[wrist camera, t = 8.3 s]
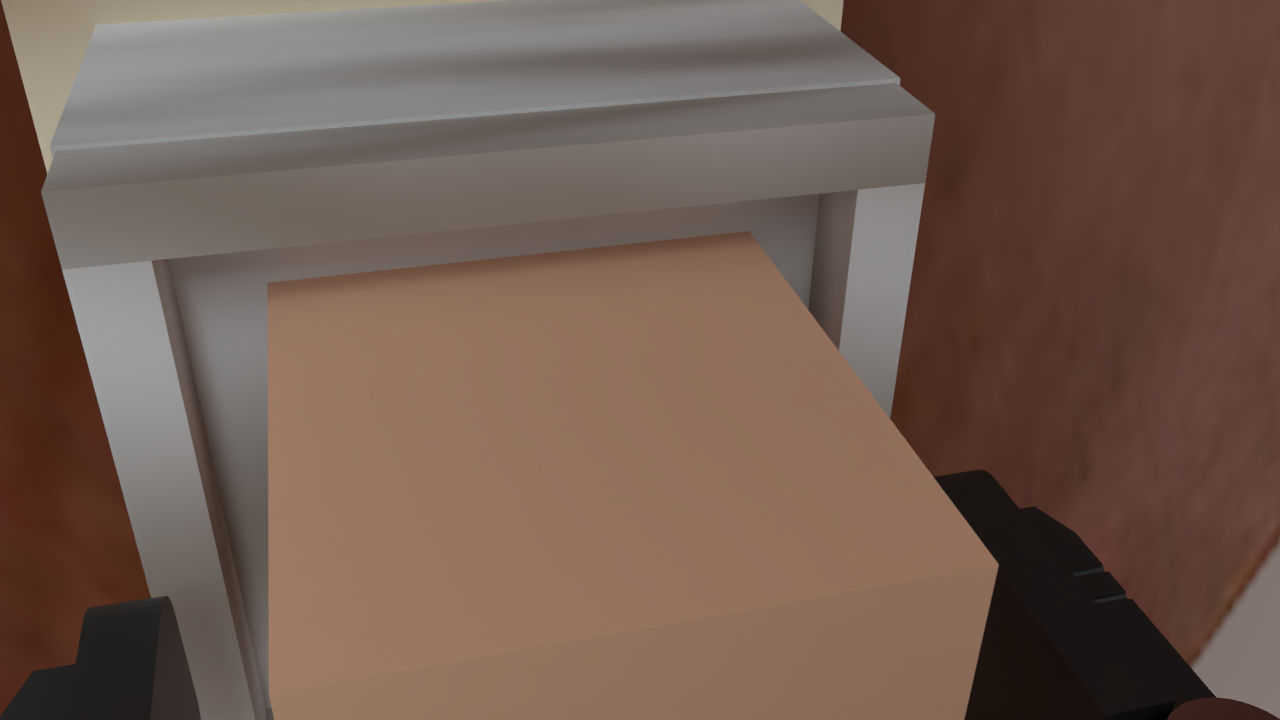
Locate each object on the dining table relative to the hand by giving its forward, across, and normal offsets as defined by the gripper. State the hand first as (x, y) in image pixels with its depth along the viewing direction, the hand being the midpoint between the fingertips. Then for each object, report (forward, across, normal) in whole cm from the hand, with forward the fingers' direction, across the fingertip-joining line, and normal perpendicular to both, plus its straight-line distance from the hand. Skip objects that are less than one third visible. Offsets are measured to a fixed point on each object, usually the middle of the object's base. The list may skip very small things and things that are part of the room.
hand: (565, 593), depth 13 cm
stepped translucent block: (+11, 0, 0) cm, 11 cm away
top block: (+3, 0, 0) cm, 3 cm away
